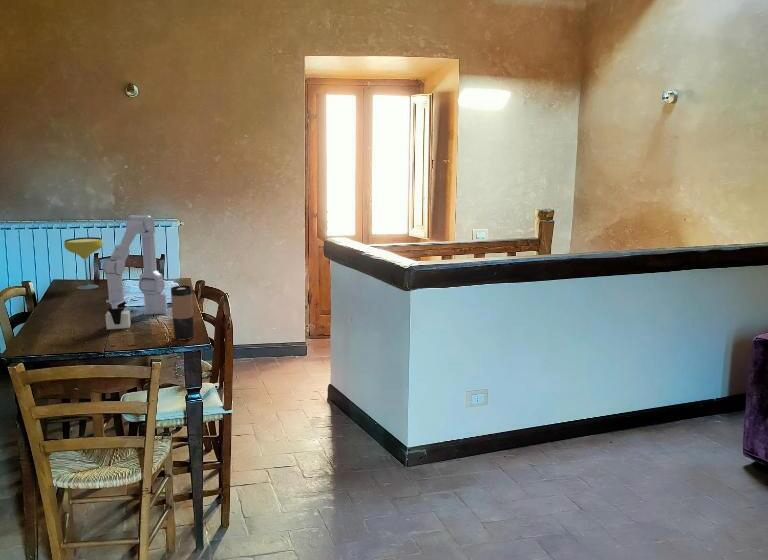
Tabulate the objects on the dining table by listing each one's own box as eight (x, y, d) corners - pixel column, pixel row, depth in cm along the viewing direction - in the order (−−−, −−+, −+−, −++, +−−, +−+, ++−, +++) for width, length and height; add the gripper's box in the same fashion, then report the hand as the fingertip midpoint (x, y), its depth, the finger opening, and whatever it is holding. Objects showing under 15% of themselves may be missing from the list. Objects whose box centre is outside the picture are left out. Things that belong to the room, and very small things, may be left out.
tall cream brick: (130, 324, 292) (129, 310, 291) (129, 327, 286) (127, 313, 285) (108, 325, 290) (107, 311, 289) (106, 329, 284) (105, 315, 283)
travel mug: (198, 336, 274) (195, 286, 269) (187, 341, 266) (183, 290, 262) (181, 334, 276) (178, 285, 272) (170, 339, 269) (166, 289, 265)
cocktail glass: (72, 284, 370) (67, 238, 365) (108, 283, 374) (104, 236, 369) (65, 292, 353) (60, 243, 348) (103, 290, 357) (99, 241, 352)
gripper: (107, 286, 291) (110, 317, 294) (102, 293, 277) (105, 327, 280) (125, 285, 292) (128, 316, 295) (121, 292, 279) (124, 325, 281)
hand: (118, 321), depth 288 cm, fingers open, 7 cm apart
